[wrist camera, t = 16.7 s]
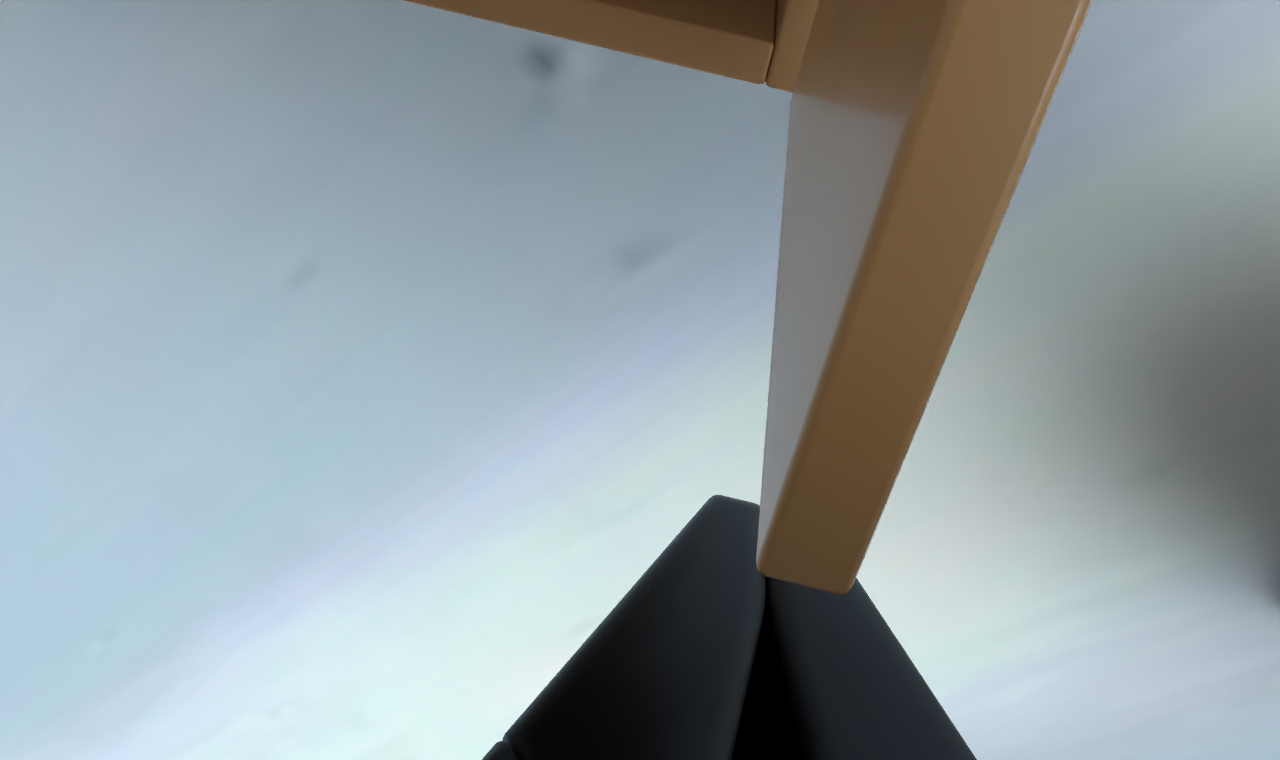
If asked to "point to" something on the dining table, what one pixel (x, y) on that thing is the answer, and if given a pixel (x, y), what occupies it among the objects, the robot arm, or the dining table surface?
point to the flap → (887, 245)
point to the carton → (671, 30)
